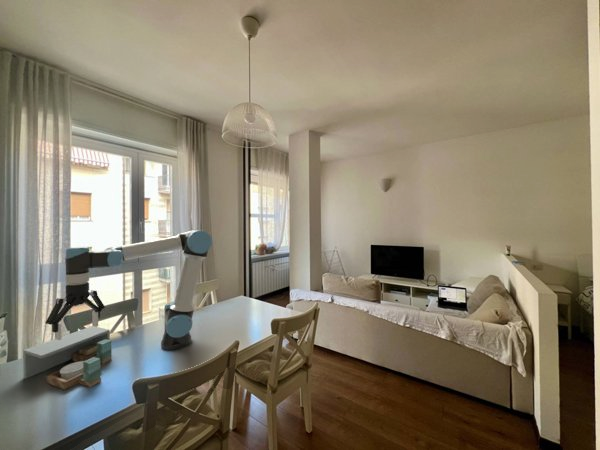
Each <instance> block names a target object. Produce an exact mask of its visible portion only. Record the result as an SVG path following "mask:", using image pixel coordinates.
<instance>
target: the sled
mask: <svg viewBox="0 0 600 450" xmlns="http://www.w3.org/2000/svg"><path fill="white" fill-rule="evenodd" d="M80 361H84V362H83V373H81V374H79V375H77V376H75V377H73V378H71V379H69V380H64V379H62V378H61V374H60V370H61V369H62V368H60V369H59V370H56V371H54V372H51V373H49V374H47V375H46V378H45V379H46V383H47V384H49V385H52V386H55V387H56V388H60V389H62V390H65V391H66V390H67V389H68V390H69V389H70V388H72V387H74V386H76V385H78V384H81V385H83V386H87V387H89V388H91V387H93V386H95V385H96V384H99V383H101V382H102V377H101V372H102V365H101V364H100V358H96V357H93V358H90V359H88V360H80ZM80 361H78V362H80Z"/></svg>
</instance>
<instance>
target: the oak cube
mask: <svg viewBox="0 0 600 450" xmlns="http://www.w3.org/2000/svg"><path fill="white" fill-rule="evenodd" d="M95 351H97V346H95V345H89V346H87V347H84V348H82V349H80V354H81V355H84V356H86V355H88V354H90V353H93V352H95Z"/></svg>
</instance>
